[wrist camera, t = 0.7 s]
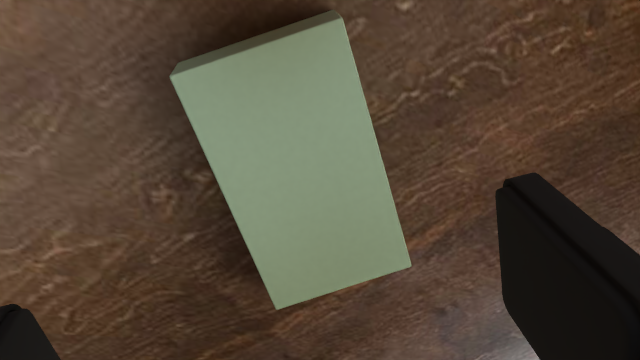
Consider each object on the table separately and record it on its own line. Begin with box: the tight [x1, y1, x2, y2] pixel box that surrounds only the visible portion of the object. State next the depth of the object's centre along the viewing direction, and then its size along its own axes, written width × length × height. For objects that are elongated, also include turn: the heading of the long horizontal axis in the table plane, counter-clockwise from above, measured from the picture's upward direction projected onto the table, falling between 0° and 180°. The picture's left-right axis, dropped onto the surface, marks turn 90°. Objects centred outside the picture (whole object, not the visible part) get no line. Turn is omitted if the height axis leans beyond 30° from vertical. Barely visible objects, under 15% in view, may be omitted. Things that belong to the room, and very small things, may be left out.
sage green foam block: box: [170, 10, 411, 310], centre depth 24 cm, size 13×7×2 cm, turn 17°
